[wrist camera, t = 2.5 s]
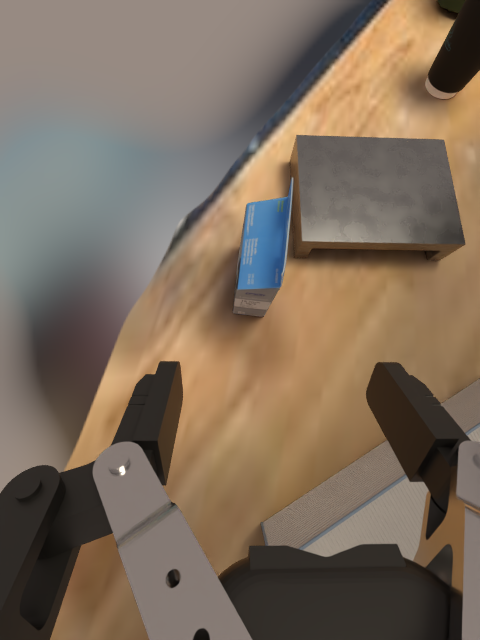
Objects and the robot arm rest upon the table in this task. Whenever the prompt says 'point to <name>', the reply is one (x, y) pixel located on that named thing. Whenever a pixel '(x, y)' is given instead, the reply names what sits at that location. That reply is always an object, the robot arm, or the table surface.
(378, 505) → the warehouse
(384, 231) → the brushed metal plate
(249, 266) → the label tape box
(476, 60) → the dixie cup
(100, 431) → the table surface
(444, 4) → the character mug
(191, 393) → the table surface
